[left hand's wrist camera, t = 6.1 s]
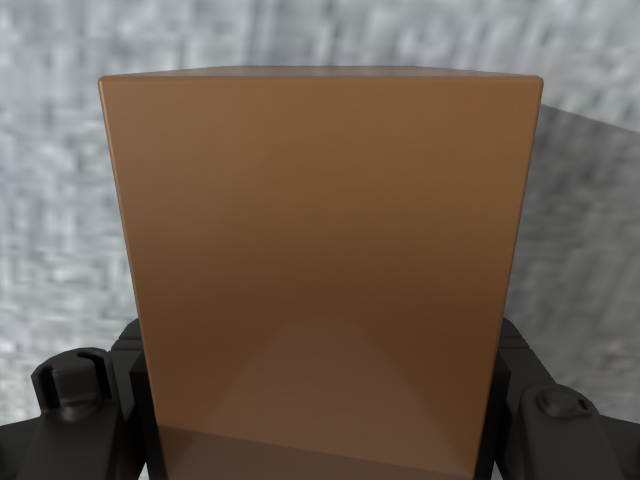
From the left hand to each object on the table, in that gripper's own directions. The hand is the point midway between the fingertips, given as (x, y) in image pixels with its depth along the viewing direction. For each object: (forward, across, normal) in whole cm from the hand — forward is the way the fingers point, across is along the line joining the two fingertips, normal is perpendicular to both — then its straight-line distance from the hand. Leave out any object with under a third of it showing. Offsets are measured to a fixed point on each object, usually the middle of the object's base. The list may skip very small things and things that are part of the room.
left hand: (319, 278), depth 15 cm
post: (+1, 0, -25) cm, 25 cm away
